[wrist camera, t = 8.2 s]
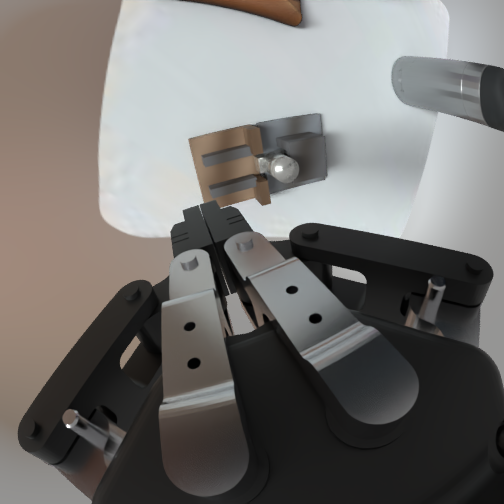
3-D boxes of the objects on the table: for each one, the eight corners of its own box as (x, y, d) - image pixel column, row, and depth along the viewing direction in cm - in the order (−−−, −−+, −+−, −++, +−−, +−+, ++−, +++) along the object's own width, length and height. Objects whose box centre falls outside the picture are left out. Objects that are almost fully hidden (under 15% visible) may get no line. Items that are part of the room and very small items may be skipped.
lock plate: (316, 113, 36) (336, 117, 32) (321, 177, 42) (340, 188, 38) (188, 139, 33) (192, 145, 29) (205, 209, 39) (212, 224, 34)
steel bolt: (307, 140, 36) (330, 149, 32) (309, 161, 38) (332, 172, 33) (252, 152, 35) (269, 162, 30) (256, 173, 37) (272, 186, 32)
